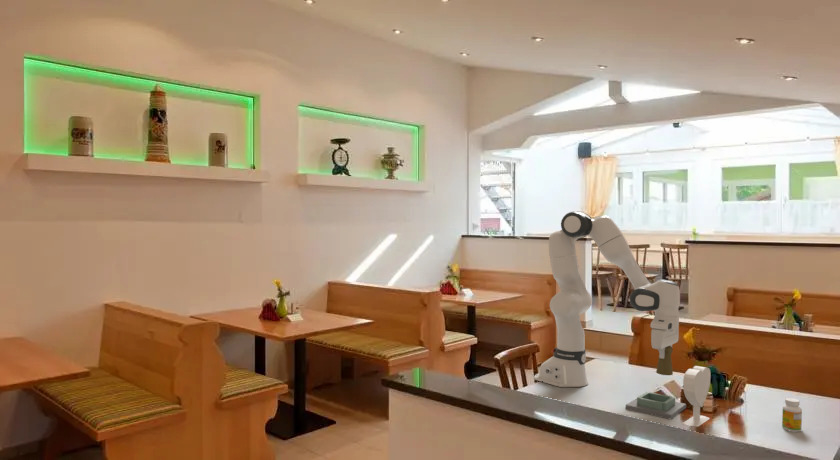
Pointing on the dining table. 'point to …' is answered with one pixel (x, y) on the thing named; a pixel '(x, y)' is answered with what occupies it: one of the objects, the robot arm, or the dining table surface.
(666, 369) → the olive green tapered cylinder
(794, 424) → the supplement bottle
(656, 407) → the housing
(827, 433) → the dining table surface
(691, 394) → the heart sculpture
